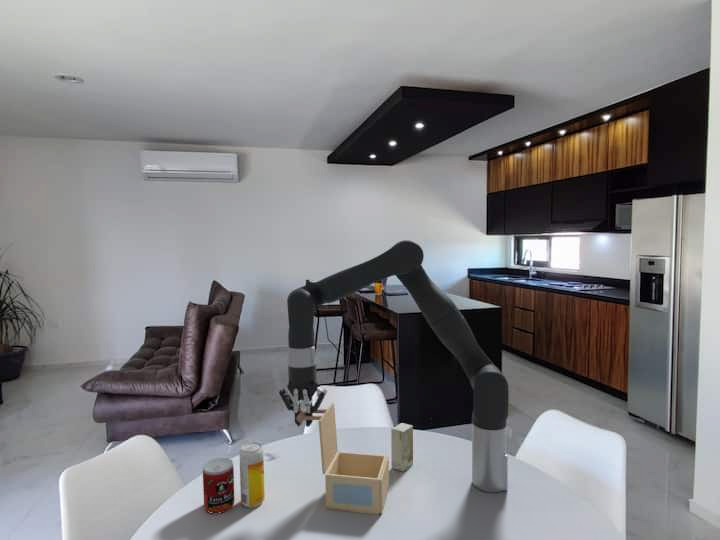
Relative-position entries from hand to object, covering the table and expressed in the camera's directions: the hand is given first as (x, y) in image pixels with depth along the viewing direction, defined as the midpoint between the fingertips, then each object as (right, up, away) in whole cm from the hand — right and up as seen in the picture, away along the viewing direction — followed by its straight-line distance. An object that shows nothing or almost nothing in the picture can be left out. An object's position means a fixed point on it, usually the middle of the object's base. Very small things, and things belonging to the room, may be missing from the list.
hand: (303, 425), depth 119 cm
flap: (+7, -3, -1) cm, 8 cm away
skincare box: (+28, -18, +14) cm, 37 cm away
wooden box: (+15, -19, -2) cm, 24 cm away
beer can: (-13, -19, -3) cm, 24 cm away
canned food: (-21, -20, -5) cm, 30 cm away
